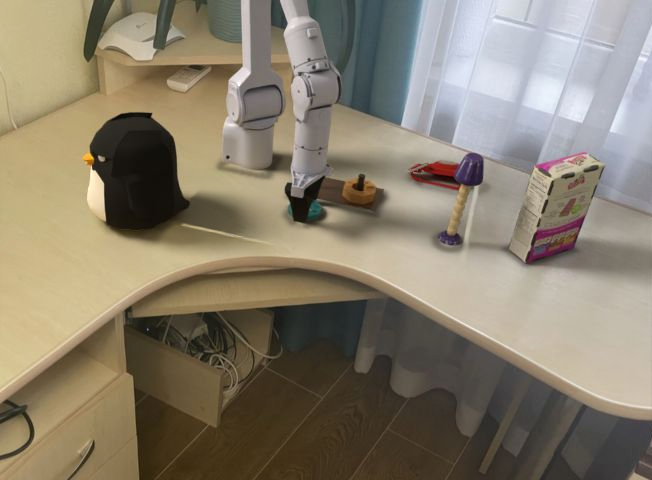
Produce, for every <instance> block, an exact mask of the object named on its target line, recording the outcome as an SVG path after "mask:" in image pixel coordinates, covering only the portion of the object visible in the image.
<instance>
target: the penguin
mask: <svg viewBox="0 0 652 480" xmlns="http://www.w3.org/2000/svg"><path fill="white" fill-rule="evenodd" d="M176 147H177V146H176V141H175V138H174V136H173V135H172V134H171V133H170V131H169V130H167V129H166V127H164V126H163V125H162V124H161V123H160V122H158V121H157V120H156V119H155V118H153V112H144V111H135V112H134V111H127V112H123V113H119V114H117V115H116V116H113V117H112V118H110V119H108V120H106V121H105V122H104V123H103V125H102V126H101V127H100V128H99V129H98V130H97V131H96V132H95V134H94V135H93V138H92V140H91V142H90V143H89V152H88V153H86V154H85V155H83V156H82V158H81V159H82V161H84V162H85V165H86V166H90V174H89V184H88V188H87V195H86V200H87V205H88V207H89V210H90V212H92V213H93V215H94V216H95V217H96V218H98V219H100V220H102V221H104V223H105V224H106V226H108V227H111V228H113V229H117V230H123V231H132V232H133V231H134V232H136V231H145V230H150V229H154V228H156V227H158V226H160V225H162V224H165V223H167V222H168V221H169V220H171V219H172V218H173V217H175V216H176V215H178V214H179V213H180V212H181V211H183V210H185V209H188V208H190V203H191V201H190V200H188V198H186V197H185V196H184V194H183V191H182V188H181V186H180V182H179V177H178V175H179V174H178V155H177V154H178V153H177V148H176Z"/></svg>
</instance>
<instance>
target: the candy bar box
mask: <svg viewBox="0 0 652 480" xmlns="http://www.w3.org/2000/svg"><path fill="white" fill-rule="evenodd" d="M605 167H606V164H605V163H604V162H602V161H601V160H598V159H597V158H596V157H594V156H592V155H591V154H590V153H588V152H585V151H583V152H579V153H575V154H572V155H571V154H570V155H567V156H564V157H561V158H557V159H553V160H550V161H546V162H542V163H538V164H535V165H533V168H532V172H531V175H530V178H529V181H528V184H527V186H526V187H527V188H526V190H525V194H524V197H523V200H522V204H521V207H520V210H519V212H518V216H517V219H516V222H515V226H514V229H513V232H512V236H511V239H510V241H509V244H508V245H509V246H508V249H507V250H508V251H509V252H511V254H512V255H514V256H516V257H517V258H518V259H519V260H520V261H521V262H523V263H524V264H530V263H534V262H536V261H539V260H542V259H545V258H548V257H551V256H554V255H557V254H560V253H562V252H566V251H569V250H573V249H574V248H575V246H576V243H577V240H578V238H579V235H580V232H581V230H582V228H583V224H584V222H585V219H586V216H587V214H588V211H589V208H590V206H591V204H592V200H593V198H594V196H595V193H596V191H597V188H598V185H599V183H600V181H601V178H602V175H603V172H604V169H605Z"/></svg>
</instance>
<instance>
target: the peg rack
mask: <svg viewBox="0 0 652 480" xmlns="http://www.w3.org/2000/svg"><path fill="white" fill-rule="evenodd" d="M357 178H358V182H357V189H356V191H361V192H362V191H363V187H364V181H365V180H366V175H365V174H364V173H359V174H358V177H357ZM346 181H347V180H340V179H335V178H331V177H327V176H325V178H324V180H323V182H322V184H321V187H320V190H319V193H318V197H317V199H316V200H320V201H325V202H329V203H335V204H339V205H344V206H350V207H354V208H359V209H364V210H368V211H371V212H376V211H377V209H378V207H379V204H380V201H381V198H382V196H383V195H384V191H385V189H384V188H380V187H377V188H376V194H375V197H374V200H373V202H369V203H366V204H357V203H353V202H349V201H348V200H347V199H346V198H345V197H344V196H343V187H344V185H345V183H346Z"/></svg>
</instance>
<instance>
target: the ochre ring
mask: <svg viewBox="0 0 652 480" xmlns="http://www.w3.org/2000/svg"><path fill="white" fill-rule="evenodd" d="M345 181H346V183H345V185H344V187H343V196H344V197H345V198H346V199H347V200H348V201H349V202H353V203H357V204H366V203H369V202H373V200H374V197H375V194H376V188H378V187H377V186H376V185H375V184H374V183H373V182H372V181H371V180H367V179H365V181H364V187H363V191H362V192H361V191H356V189H357V182H358V177H357V178H353V179H348V180H345Z"/></svg>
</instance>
